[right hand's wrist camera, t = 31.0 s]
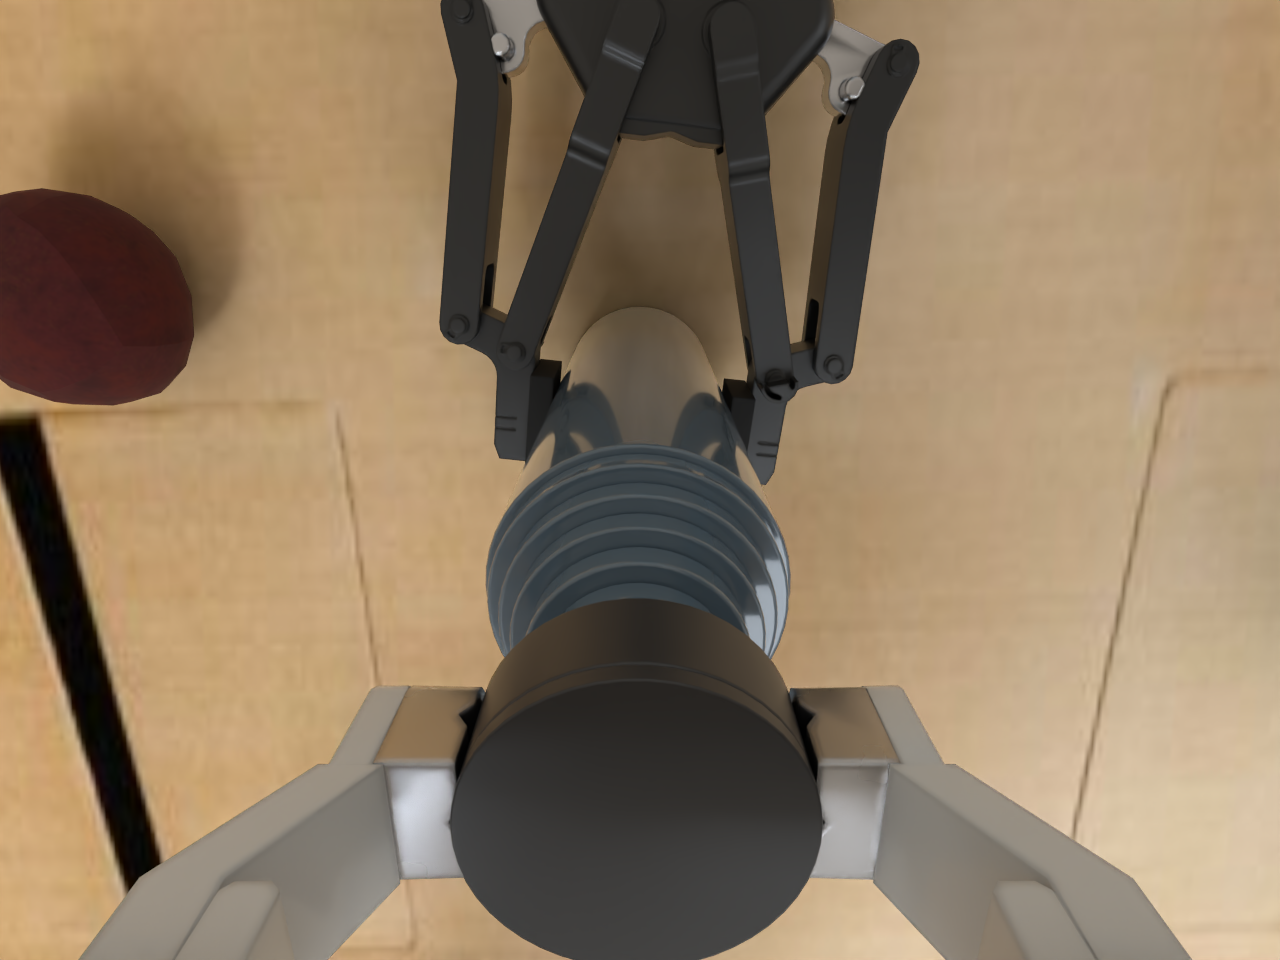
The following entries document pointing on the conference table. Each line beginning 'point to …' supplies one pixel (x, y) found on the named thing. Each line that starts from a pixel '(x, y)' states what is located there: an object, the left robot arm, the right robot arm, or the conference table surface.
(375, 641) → the conference table surface
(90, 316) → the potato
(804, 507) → the conference table surface
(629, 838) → the cap
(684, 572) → the bottle
